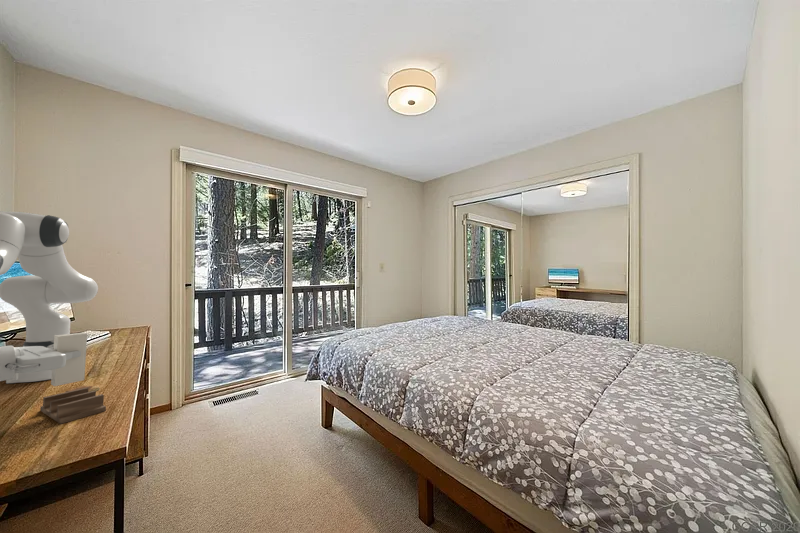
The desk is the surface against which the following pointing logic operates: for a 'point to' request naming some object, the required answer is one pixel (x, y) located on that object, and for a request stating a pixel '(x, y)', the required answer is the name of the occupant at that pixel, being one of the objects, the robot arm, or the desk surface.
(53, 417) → the drying rack
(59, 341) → the clay bar
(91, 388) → the shard
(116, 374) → the desk surface
